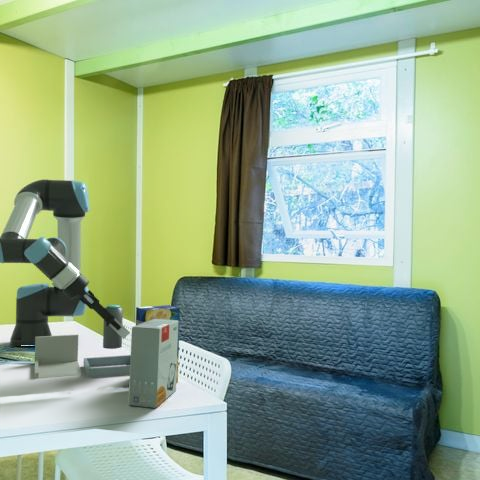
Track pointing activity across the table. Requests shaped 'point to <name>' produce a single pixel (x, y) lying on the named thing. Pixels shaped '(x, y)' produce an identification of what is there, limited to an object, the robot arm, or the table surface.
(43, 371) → the bay
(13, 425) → the table surface
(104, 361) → the tray
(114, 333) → the bottle
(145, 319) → the beverage box
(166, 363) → the hard drive box
